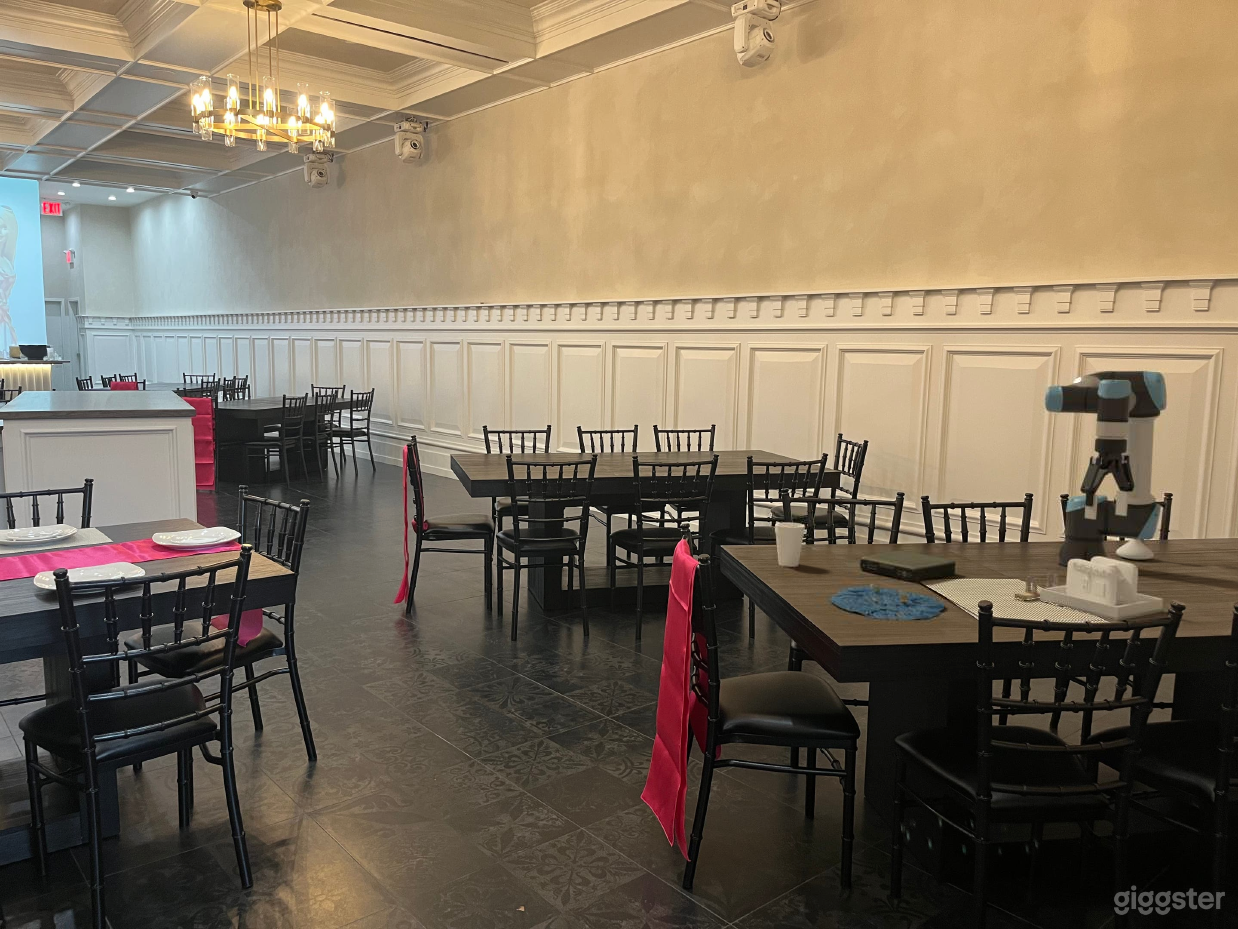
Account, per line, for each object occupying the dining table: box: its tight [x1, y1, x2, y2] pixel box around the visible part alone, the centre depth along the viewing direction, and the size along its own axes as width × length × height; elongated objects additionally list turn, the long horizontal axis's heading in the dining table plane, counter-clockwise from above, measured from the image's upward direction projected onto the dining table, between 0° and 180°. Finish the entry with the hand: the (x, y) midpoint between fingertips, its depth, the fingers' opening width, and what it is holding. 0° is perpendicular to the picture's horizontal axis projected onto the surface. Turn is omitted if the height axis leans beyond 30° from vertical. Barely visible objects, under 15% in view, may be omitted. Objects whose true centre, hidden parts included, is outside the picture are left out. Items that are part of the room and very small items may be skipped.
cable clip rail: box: [1014, 572, 1067, 600], centre depth 258 cm, size 28×3×6 cm, turn 120°
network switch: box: [859, 549, 956, 583], centre depth 285 cm, size 23×23×5 cm
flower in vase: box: [1115, 539, 1155, 561], centre depth 312 cm, size 13×11×25 cm
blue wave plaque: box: [829, 583, 946, 621], centre depth 244 cm, size 30×30×5 cm
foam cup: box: [774, 522, 806, 568], centre depth 294 cm, size 10×9×13 cm
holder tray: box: [1039, 584, 1164, 622], centre depth 246 cm, size 20×22×4 cm
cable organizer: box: [1066, 556, 1139, 605], centre depth 246 cm, size 15×11×12 cm
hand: (1105, 517), depth 244 cm, fingers open, 13 cm apart
